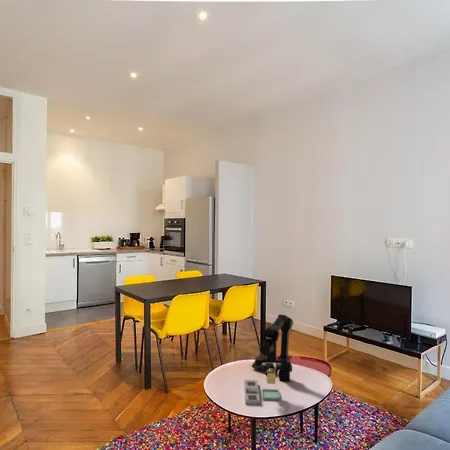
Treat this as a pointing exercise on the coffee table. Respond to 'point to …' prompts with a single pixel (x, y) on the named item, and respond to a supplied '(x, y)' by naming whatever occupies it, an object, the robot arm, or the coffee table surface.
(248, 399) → the grey slotted plate
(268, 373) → the brass block with knob
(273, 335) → the robot arm
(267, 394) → the parts tray
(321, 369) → the coffee table surface
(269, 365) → the brown rounded lump
